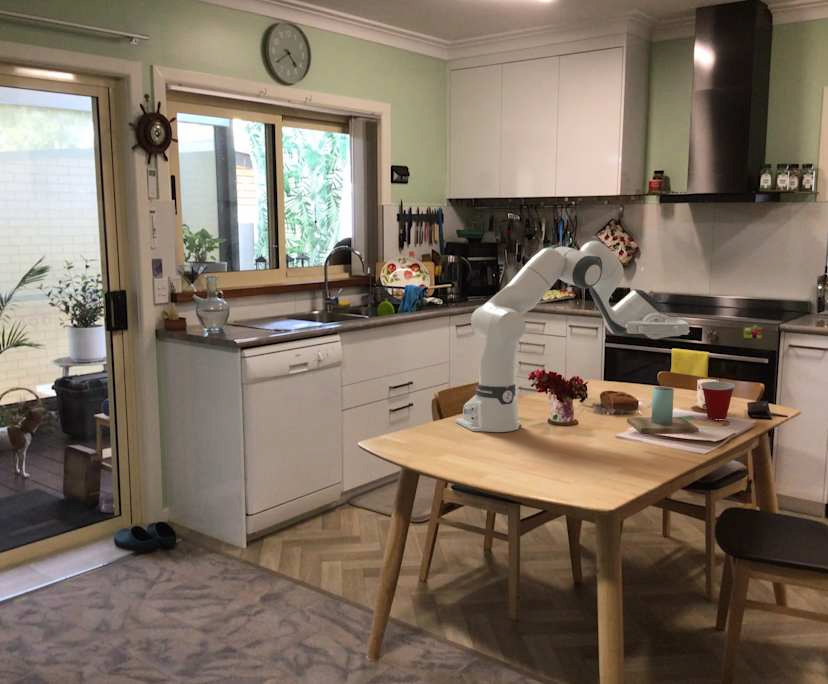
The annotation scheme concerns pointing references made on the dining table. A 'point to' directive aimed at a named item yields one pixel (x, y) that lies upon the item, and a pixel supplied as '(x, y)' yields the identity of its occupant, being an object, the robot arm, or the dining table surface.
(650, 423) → the board
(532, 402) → the dining table surface
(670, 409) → the green tin
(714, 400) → the plastic cup
